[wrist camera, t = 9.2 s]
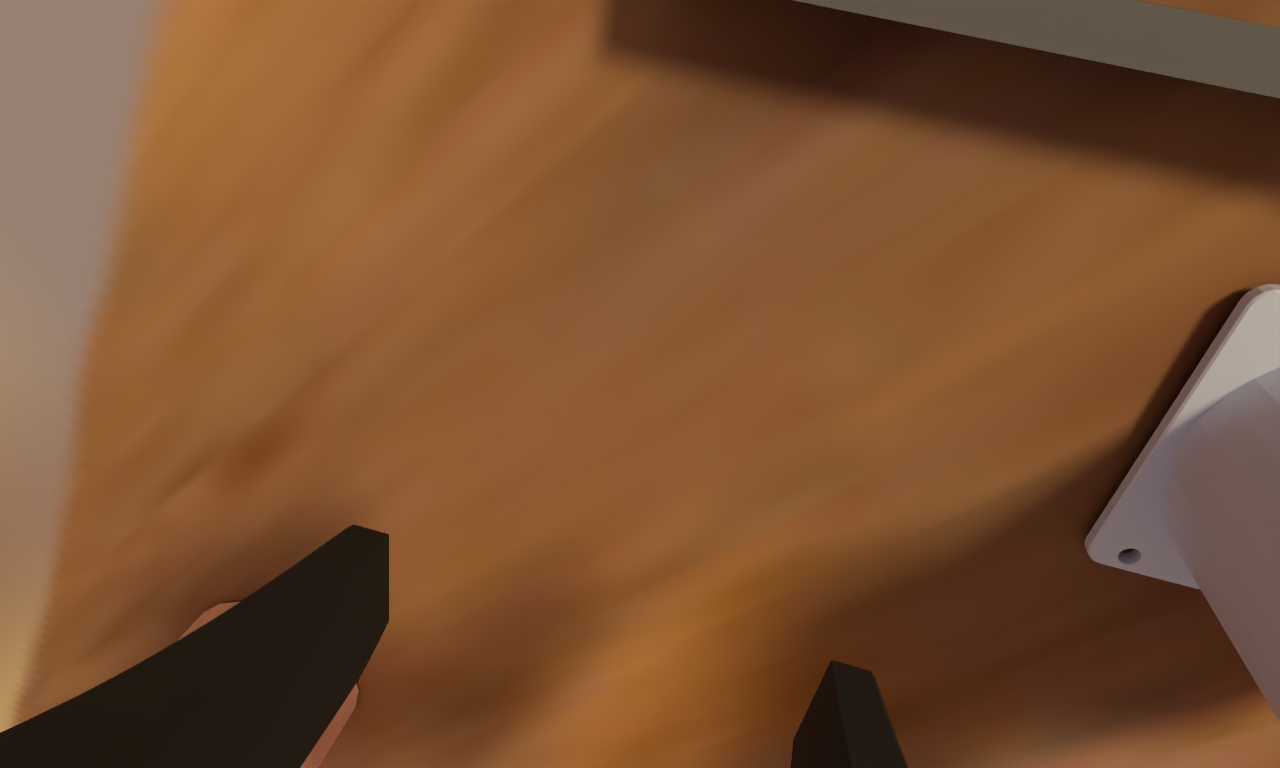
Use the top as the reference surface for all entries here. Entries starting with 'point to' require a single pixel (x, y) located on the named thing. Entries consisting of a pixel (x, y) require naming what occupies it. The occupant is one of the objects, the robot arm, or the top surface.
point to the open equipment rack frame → (1106, 35)
